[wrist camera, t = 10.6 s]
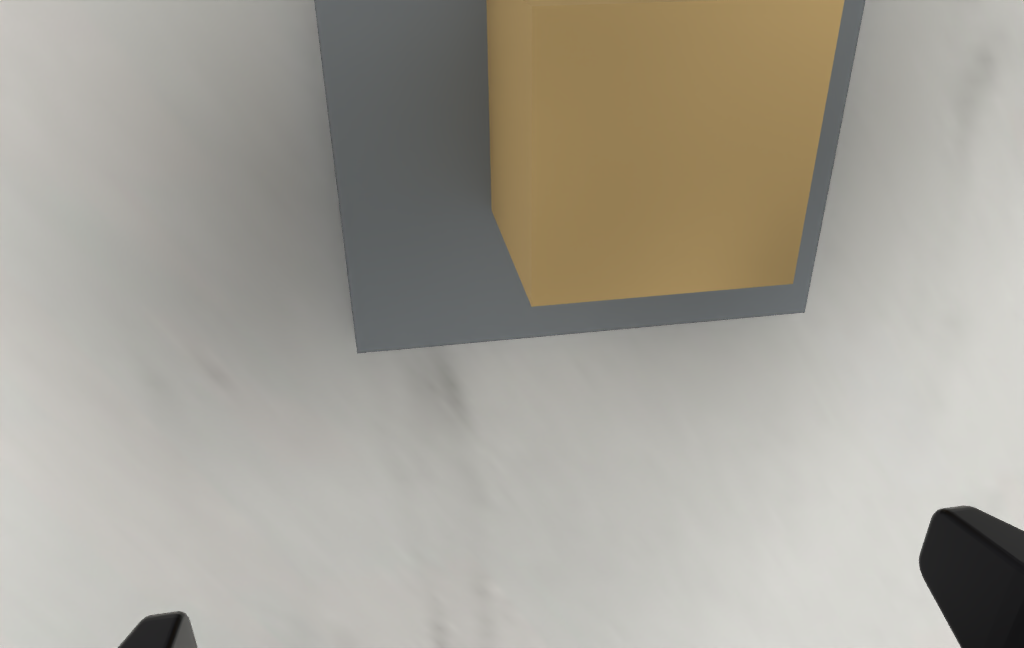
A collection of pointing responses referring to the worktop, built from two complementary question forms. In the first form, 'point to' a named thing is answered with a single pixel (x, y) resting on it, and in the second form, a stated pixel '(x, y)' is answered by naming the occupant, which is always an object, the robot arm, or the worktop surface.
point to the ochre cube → (655, 141)
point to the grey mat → (478, 187)
